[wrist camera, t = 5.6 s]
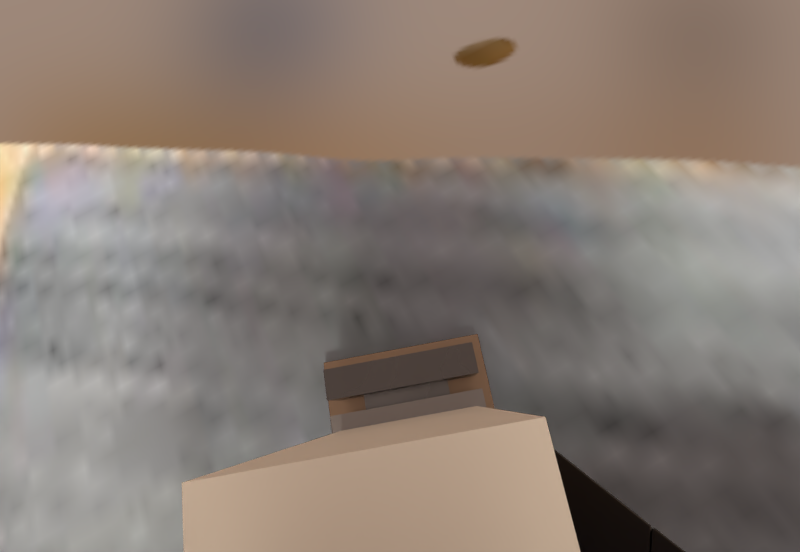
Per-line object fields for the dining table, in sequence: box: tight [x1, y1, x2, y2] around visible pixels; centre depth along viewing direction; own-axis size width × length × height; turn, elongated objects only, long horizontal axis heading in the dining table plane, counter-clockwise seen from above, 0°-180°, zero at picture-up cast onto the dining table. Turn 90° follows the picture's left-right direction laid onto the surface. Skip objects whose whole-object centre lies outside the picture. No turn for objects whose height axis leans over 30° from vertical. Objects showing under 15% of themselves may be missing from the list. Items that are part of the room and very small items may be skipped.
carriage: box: [182, 388, 580, 552], centre depth 9 cm, size 5×5×10 cm
